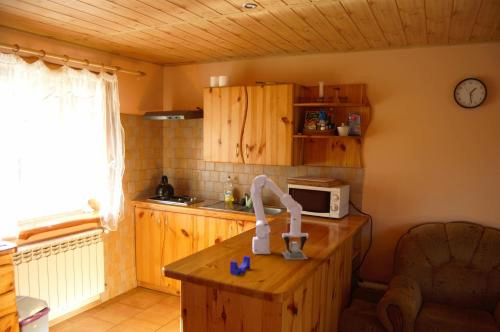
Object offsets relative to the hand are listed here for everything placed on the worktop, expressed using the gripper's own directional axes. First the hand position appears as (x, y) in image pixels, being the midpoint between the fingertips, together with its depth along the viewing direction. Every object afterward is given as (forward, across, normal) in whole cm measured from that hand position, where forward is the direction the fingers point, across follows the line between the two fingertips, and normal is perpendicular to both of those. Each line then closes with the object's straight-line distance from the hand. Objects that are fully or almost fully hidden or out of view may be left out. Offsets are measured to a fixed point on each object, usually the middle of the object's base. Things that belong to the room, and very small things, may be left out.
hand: (294, 250), depth 218 cm
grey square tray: (+3, 0, 0) cm, 3 cm away
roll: (+3, 0, 0) cm, 3 cm away
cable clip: (+4, -32, -22) cm, 39 cm away
